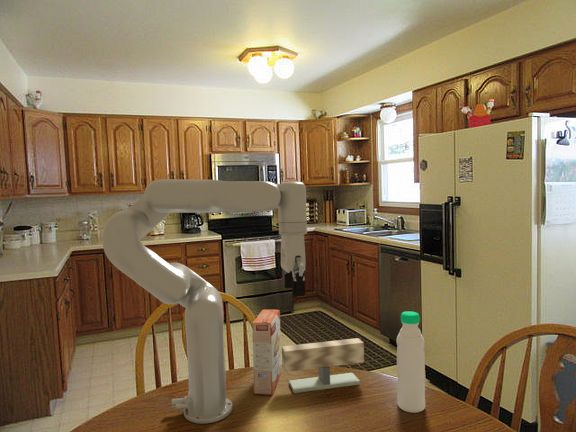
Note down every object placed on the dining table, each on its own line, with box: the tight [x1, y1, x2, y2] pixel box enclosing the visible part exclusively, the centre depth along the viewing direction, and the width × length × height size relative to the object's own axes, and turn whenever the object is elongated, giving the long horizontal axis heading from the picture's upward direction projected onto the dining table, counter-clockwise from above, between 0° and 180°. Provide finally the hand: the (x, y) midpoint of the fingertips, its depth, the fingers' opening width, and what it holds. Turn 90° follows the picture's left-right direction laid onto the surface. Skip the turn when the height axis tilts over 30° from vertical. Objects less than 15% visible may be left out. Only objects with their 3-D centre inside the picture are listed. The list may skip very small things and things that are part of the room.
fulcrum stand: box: [288, 367, 361, 394], centre depth 123 cm, size 20×6×6 cm, turn 102°
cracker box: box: [252, 309, 282, 396], centre depth 123 cm, size 14×6×21 cm, turn 171°
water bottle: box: [396, 311, 426, 414], centre depth 108 cm, size 7×7×25 cm
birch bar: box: [281, 337, 365, 373], centre depth 122 cm, size 24×4×6 cm, turn 102°
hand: (294, 291), depth 112 cm, fingers open, 9 cm apart
